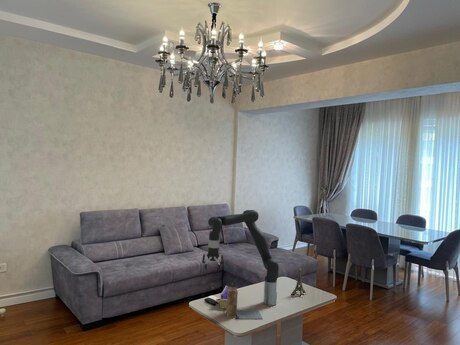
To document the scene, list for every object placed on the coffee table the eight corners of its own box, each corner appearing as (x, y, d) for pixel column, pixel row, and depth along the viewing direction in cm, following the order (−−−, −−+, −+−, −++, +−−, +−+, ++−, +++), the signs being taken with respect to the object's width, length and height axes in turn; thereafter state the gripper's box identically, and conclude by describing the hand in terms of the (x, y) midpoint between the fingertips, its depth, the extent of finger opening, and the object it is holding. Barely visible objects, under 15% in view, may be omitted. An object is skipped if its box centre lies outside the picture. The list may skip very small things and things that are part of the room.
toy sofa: (231, 309, 247) (231, 295, 247) (219, 308, 249) (220, 294, 249) (236, 299, 268) (237, 285, 268) (225, 297, 270) (226, 284, 269)
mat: (258, 310, 248) (258, 308, 248) (262, 319, 234) (262, 316, 234) (234, 310, 246) (234, 307, 246) (237, 319, 232) (237, 316, 232)
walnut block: (234, 312, 243) (236, 287, 243) (236, 317, 235) (237, 291, 235) (226, 312, 242) (227, 286, 242) (227, 317, 234) (228, 291, 234)
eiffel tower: (290, 294, 282) (291, 264, 282) (295, 291, 291) (296, 261, 291) (302, 297, 277) (304, 266, 276) (307, 294, 286) (308, 264, 285)
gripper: (223, 245, 242) (222, 268, 242) (203, 244, 242) (202, 267, 242) (223, 248, 234) (222, 271, 235) (203, 246, 234) (201, 270, 234)
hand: (212, 269), depth 238 cm, fingers open, 8 cm apart
